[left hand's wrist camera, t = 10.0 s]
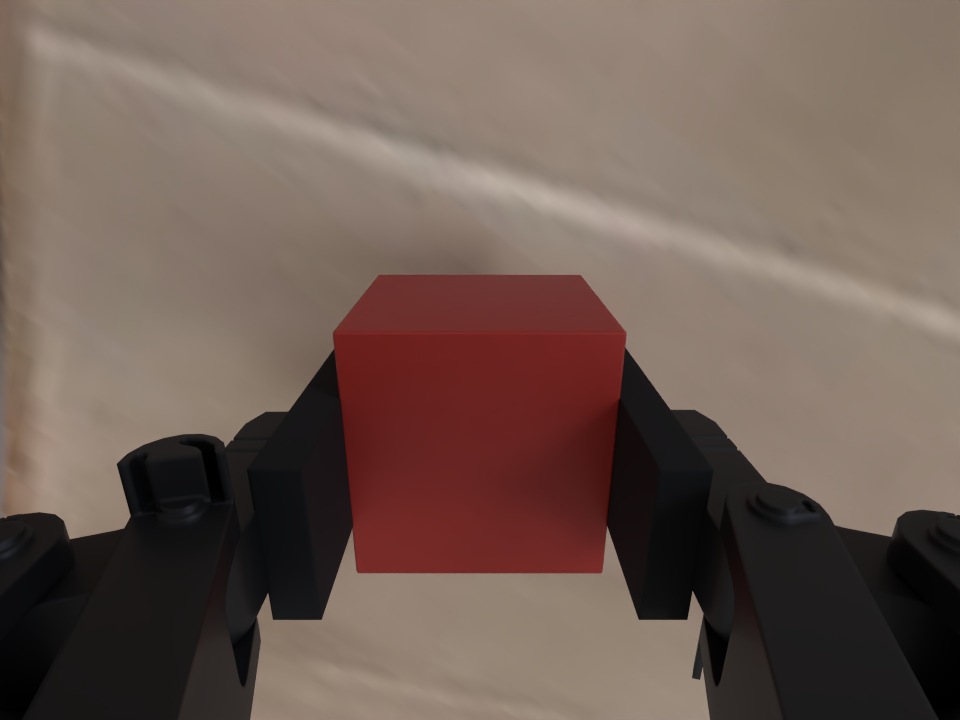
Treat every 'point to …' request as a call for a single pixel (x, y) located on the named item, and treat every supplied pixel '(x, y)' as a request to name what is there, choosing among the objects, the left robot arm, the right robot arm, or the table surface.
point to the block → (479, 423)
